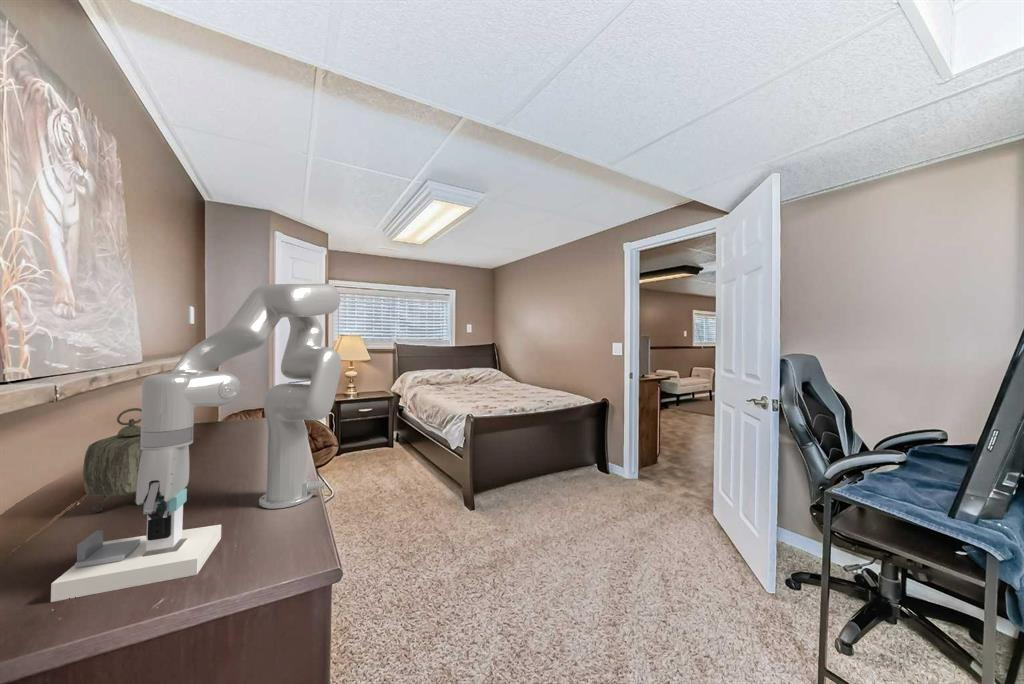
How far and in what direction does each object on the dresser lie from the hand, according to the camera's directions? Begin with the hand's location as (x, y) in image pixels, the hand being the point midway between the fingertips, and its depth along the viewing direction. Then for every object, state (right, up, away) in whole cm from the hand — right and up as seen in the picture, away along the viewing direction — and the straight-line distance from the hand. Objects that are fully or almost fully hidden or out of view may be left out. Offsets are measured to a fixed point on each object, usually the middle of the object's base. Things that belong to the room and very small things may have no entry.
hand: (165, 531), depth 72 cm
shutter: (-7, -3, -3) cm, 8 cm away
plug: (0, -2, 0) cm, 2 cm away
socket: (-2, -6, -1) cm, 6 cm away
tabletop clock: (-33, -6, +26) cm, 43 cm away
